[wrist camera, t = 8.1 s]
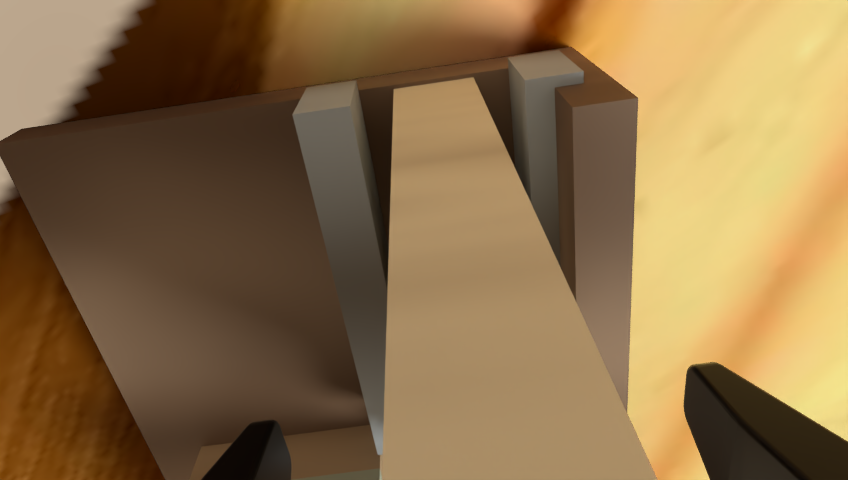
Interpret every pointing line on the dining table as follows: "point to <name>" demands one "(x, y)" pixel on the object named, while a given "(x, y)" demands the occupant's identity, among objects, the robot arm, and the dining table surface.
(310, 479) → the sage offcut
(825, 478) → the robot arm
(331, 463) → the oak offcut
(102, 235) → the walnut rack
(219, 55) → the dining table surface
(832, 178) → the dining table surface
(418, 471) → the birch sheet
